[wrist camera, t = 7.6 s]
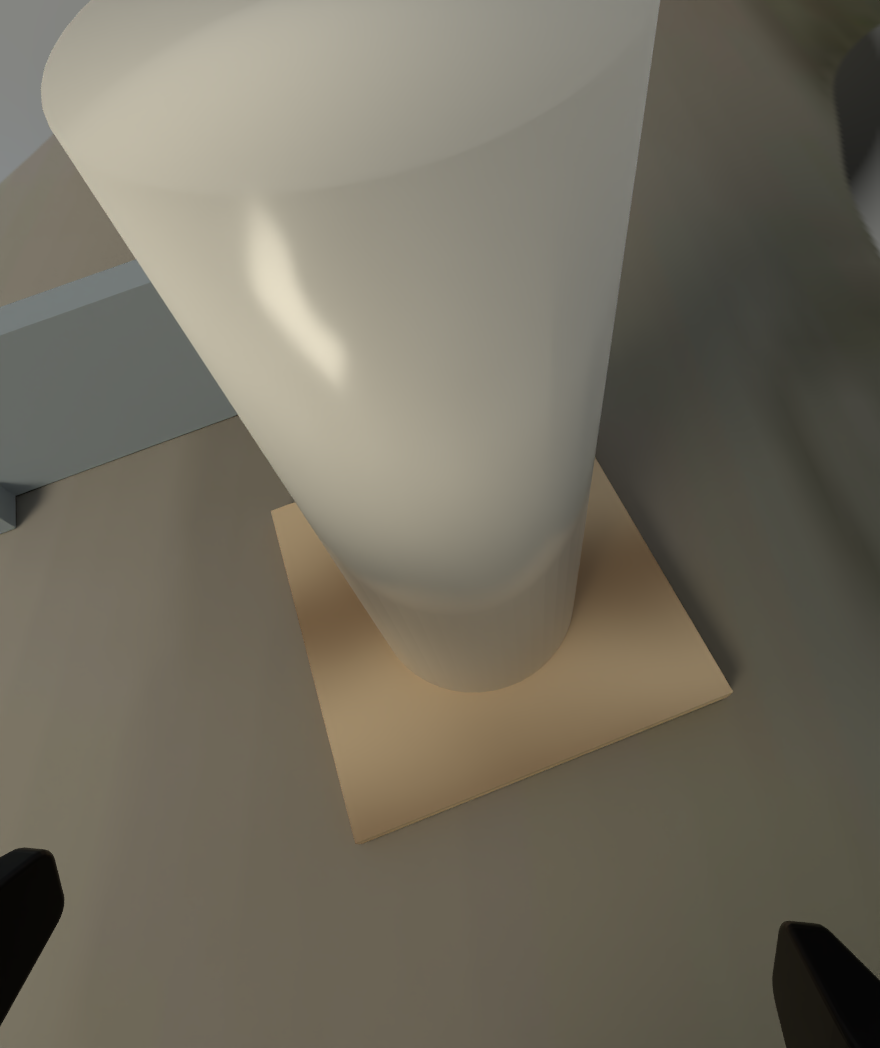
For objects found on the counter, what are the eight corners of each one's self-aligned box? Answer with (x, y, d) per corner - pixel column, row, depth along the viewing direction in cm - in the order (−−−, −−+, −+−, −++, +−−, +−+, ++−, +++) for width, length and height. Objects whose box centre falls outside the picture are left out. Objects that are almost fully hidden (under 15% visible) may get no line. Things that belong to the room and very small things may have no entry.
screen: (310, 419, 22) (241, 285, 17) (-18, 540, 22) (-194, 439, 17) (286, 343, 24) (216, 200, 19) (-17, 452, 24) (-174, 336, 18)
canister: (586, 685, 16) (742, 126, 4) (376, 698, 17) (-50, 243, 5) (560, 495, 19) (603, -179, 7) (380, 512, 20) (120, -81, 7)
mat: (726, 697, 16) (733, 692, 16) (361, 844, 16) (355, 843, 15) (562, 413, 21) (562, 402, 21) (277, 520, 21) (271, 511, 20)
